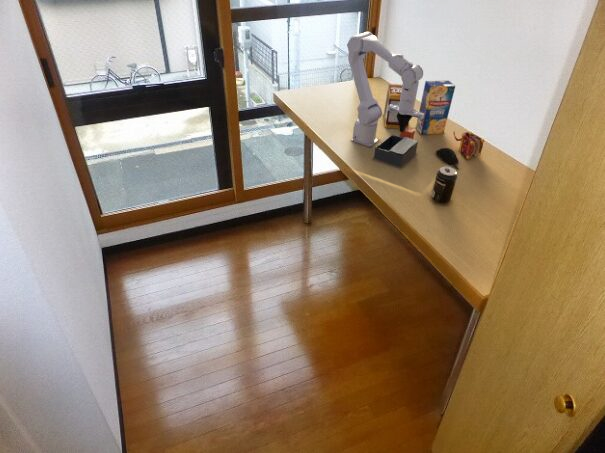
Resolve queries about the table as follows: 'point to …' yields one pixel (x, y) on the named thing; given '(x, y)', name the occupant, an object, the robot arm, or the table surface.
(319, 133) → the table surface
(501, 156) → the table surface
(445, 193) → the beverage can
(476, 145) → the book monster
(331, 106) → the table surface
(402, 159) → the storage box
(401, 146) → the flap
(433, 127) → the beverage box
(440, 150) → the gaming mouse
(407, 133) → the small box
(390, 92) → the supplement box
